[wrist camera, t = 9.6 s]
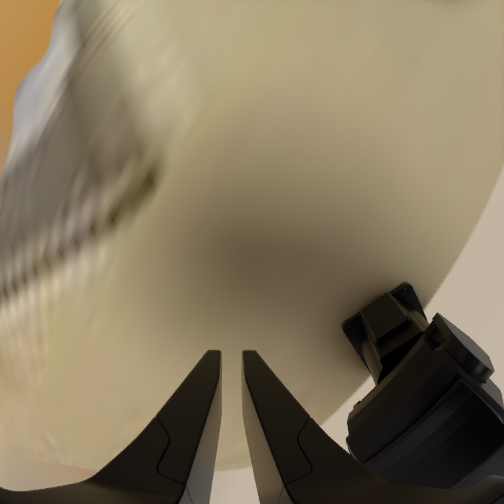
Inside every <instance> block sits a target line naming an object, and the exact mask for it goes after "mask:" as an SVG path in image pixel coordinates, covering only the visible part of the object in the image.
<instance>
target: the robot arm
mask: <svg viewBox="0 0 504 504" xmlns="http://www.w3.org/2000/svg"><path fill="white" fill-rule="evenodd" d="M407 287H408V290H407V291H405V289H406V288H407ZM432 319H433V321H432V322H431V323H430V324H429V323H428V321H427V319H426V316H425V314H424V312H423V309H422V307H421V305H420V302H419V300H418V298H417V296H416V293H415V291H414V289H413V287H412V286H411V285H410V284H409V283H403V284H402V285H400V286H399V287H398V288H396V289H395V290H393V291H392V292H390V293H387V294H385V295H384V296H382V297H381V298H379V299H378V300H376V301H375V302H373V303H372V304H370V305H368V306H367V307H365V308H364V309H362V310H361V312H360V313H358V314H357V315H355V316H353V317H352V318H350V319H349V320H347V321H345V322H344V323H343V325H342V328H343V331H344V333H345V334H346V336H347V337H348V339H349V340H350V342H351V344H352V345H353V347H354V348H355V350H356V351H357V353H358V354H359V356H360V357H361V359H362V361H363V362H364V364H365V365H366V367H367V368H368V370H369V372H370V373H371V375H372V377H373V380H374V382H375V385H376V386H375V387H374V389H372V390H371V391H370V392H369V393H368V394H367V396H365V397H364V398H363V399H362V401H358V402H357V403H356V404H355V405H354V407H353V410H352V411H351V412H350V413H349V416H348V421H347V425H348V431H349V435H348V436H347V437H346V444H347V446H348V450H349V452H350V454H349V453H348V452H347V451H345V450H344V449H343V448H342V447H341V446H339V445H338V444H337V443H336V442H335V441H334V440H332V439H331V438H330V437H329V436H328V435H327V434H326V433H325V432H324V431H323V430H322V429H321V427H320V426H319V425H318V424H317V423H316V422H315V421H314V420H313V418H310V415H309V414H308V413H307V412H306V411H305V409H304V408H303V407H302V406H301V405H300V404H299V402H298V401H297V400H296V399H295V398H294V397H293V395H292V394H291V393H290V392H289V391H288V389H287V388H286V387H285V386H284V385H283V384H282V382H281V381H280V380H279V379H278V377H277V376H276V375H275V374H274V373H273V371H272V370H271V369H270V368H269V367H268V365H267V364H266V363H265V362H264V360H263V359H262V358H261V357H260V355H259V354H258V353H257V352H256V351H255V350H244V351H242V369H241V376H242V408H243V419H244V426H245V431H246V436H247V442H248V447H249V452H250V457H251V462H252V467H253V472H254V477H255V482H256V487H257V491H258V496H259V501H260V504H504V404H503V399H502V394H501V391H500V390H499V388H498V387H497V386H496V385H495V384H494V383H493V382H492V381H491V380H490V379H489V377H490V376H491V375H492V374H493V372H494V368H493V366H492V363H491V360H490V358H489V356H488V355H487V354H486V353H485V352H484V351H483V350H482V349H481V348H480V347H479V346H478V345H477V344H476V343H475V342H474V341H473V340H472V339H470V337H469V336H467V335H466V334H465V333H464V332H462V331H461V330H460V329H458V328H457V327H456V326H454V325H453V324H452V323H451V322H449V321H448V320H447V319H445V318H444V317H443V316H442V315H440V314H439V313H436V315H435V316H434V317H433V318H432ZM347 326H351V327H350V328H349V329H347V328H346V327H347ZM221 416H222V357H221V351H220V350H208V351H207V352H206V353H205V354H204V356H203V357H202V358H201V359H200V361H199V362H198V363H197V364H196V366H195V367H194V368H193V370H192V371H191V372H190V373H189V375H188V376H187V377H186V378H185V380H184V381H183V382H182V383H181V385H180V386H179V387H178V388H177V390H176V391H175V392H174V393H173V395H172V396H171V397H170V398H169V400H168V401H167V402H166V403H165V405H164V406H163V407H162V408H161V410H160V411H159V412H158V413H157V414H156V417H154V418H153V419H152V420H151V422H150V423H149V424H148V425H147V426H146V428H145V429H144V430H143V431H142V432H141V433H140V434H139V435H138V437H137V438H135V439H134V440H133V441H132V442H131V443H130V444H129V445H128V446H127V447H126V448H125V449H124V450H123V451H122V452H120V453H119V454H118V455H117V456H116V457H115V458H114V459H113V460H111V461H110V462H109V463H108V464H107V465H106V466H105V467H103V468H102V469H101V470H100V471H99V472H97V473H96V474H95V475H93V476H92V477H90V478H88V479H87V480H84V481H81V482H78V483H73V484H68V485H63V486H58V487H52V488H46V489H39V490H31V491H11V490H7V489H3V488H1V487H0V504H209V501H210V494H211V487H212V480H213V473H214V466H215V459H216V452H217V445H218V438H219V431H220V425H221Z"/></svg>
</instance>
